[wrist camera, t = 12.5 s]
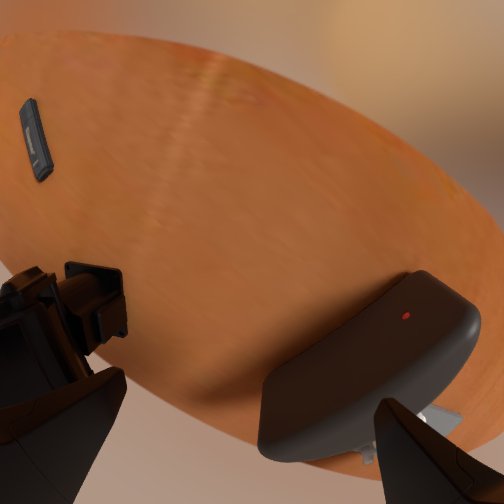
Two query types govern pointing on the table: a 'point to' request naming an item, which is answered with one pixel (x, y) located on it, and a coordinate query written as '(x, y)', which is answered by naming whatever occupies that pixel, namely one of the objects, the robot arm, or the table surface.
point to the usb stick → (36, 140)
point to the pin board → (431, 415)
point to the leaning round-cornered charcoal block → (367, 371)
